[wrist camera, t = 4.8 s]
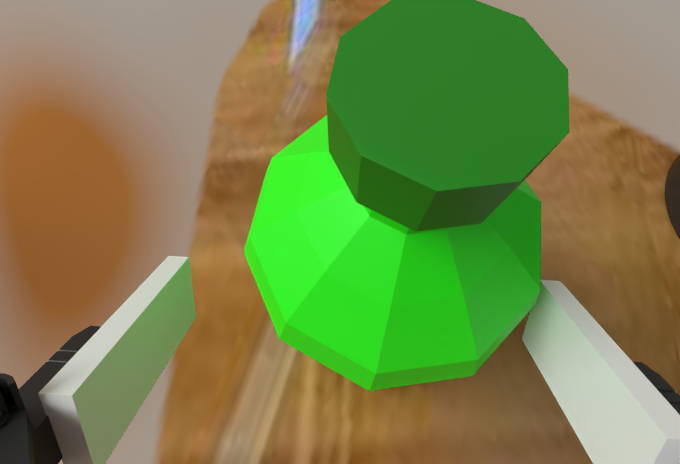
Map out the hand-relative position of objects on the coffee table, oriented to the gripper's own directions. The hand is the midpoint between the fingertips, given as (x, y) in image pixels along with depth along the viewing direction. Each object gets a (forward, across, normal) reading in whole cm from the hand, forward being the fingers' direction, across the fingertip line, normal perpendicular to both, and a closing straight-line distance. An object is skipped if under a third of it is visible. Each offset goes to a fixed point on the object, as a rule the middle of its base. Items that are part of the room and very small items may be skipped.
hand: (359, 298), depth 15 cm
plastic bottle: (+13, +1, -10) cm, 16 cm away
